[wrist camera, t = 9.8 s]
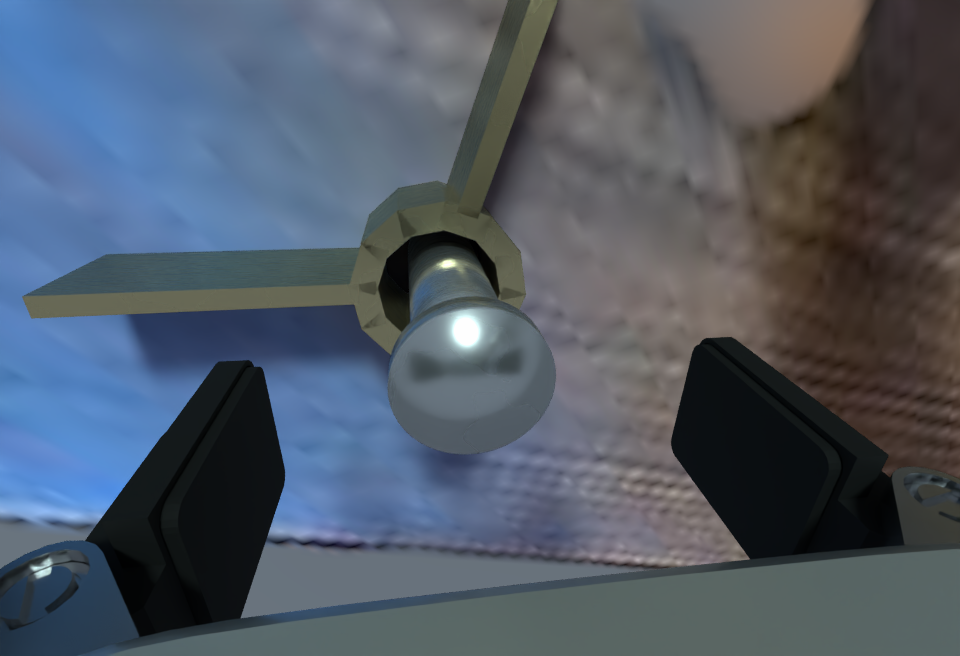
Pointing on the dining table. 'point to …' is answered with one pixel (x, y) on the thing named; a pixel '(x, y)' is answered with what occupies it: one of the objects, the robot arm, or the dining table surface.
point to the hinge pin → (465, 355)
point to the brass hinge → (340, 270)
